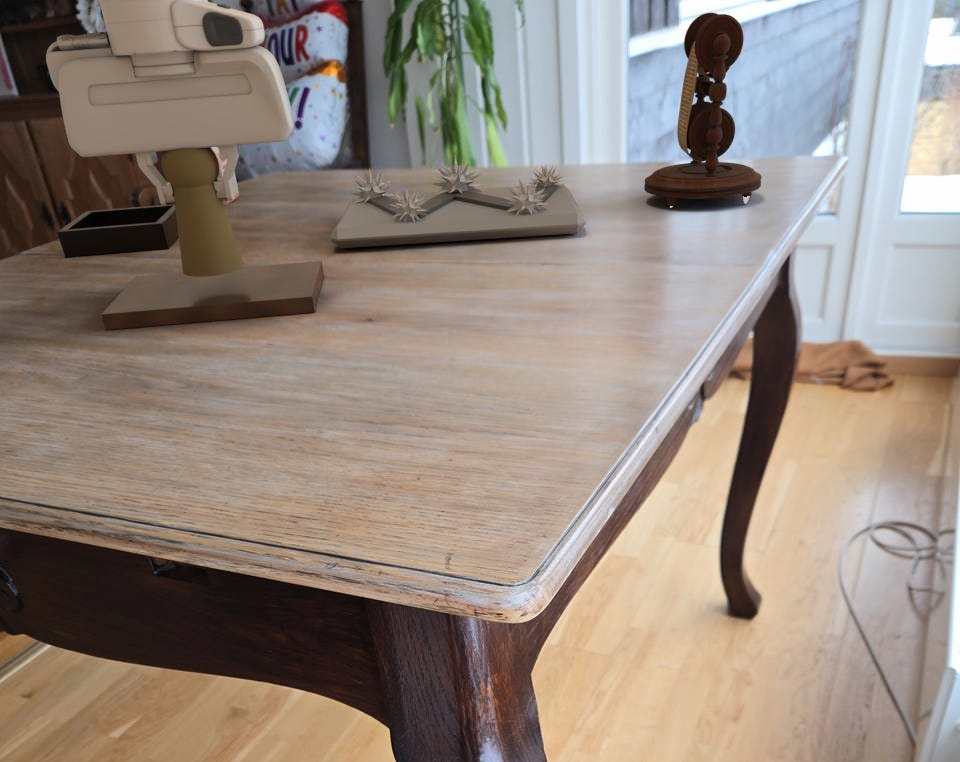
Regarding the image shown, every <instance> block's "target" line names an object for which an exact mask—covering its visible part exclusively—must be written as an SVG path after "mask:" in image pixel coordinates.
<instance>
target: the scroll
mask: <svg viewBox="0 0 960 762" xmlns="http://www.w3.org/2000/svg"><path fill="white" fill-rule="evenodd" d="M744 40H745V39H744V31H743V28H742V25H741V23H740V22H739V21H738V19H737V18H735V17H733V15H730V14H727V13H720V14H719V13H716V12H705V13H702V14H700V15H698V16H697V17H696V18H695V19H694V20H692V21H691V23H690V24H689V26H688V27H687V30H686V33H685V35H684V39H683V50H684V52H685V56H686V58H687V63H686V68H685V71H684V77H683V82H682V89H681V96H680V103H679V111H678V117H677V119H678V120H677V127H676V128H677V131H676V132H677V133H676V135H677V141H678V145H679V147H680V149H681V150H682V151H683V152H684V153H685V154H686V155H687V156H688V157H689V158H690V159H692V160H691V161H690V162H686V163H678V164H672V165H668V166H664V167H661V168H659V169H657V170H655V171H653V172H652V173H651V174H649V175H648V176H647V177H645V178H644V186H643V188H644V189H643V190H644V192H646V193H647V194H649V195H652V196H656V197H663V198H666V205H667V207H668V206H669V207H670V206H674V207H675V206H676V202H677V199H692V200H693V199H718V198H726V197H735V196H741V197H742V196H744V197H747V196H751V197H752V194H753V193H752V192H755V191H757V190H759V189H760V188H761V186H762V178H763V177H762V174H761V173H759V172H757V171H756V170H755V169H754V168H752V167H751V166H748V165H745V164H741V163H735V162H726V161H725V162H724V161H719V158H720V157H722V156H723V155H724V154H726V153H727V151H728V150H729V149H730V148H731V146H732V144H733V142H734V139H735V136H736V124H735V120H734V118H733V116H732V115H731V113H730V112H729V111H728V110H726V109H725V108H722V106H723V105H724V102H723V101H725V100H726V98H727V93H728V87H727V83H726V82H724V80H725V79H726V76H727V73H728V71H729V70H730V68H731V66H733V65H734V64H735V63H736V61H737V60H738V59H739V57H740V55H741V53H742V51H743V46H744ZM711 79H713V80H711ZM694 97H695V98H696V101H695V103H693V102H694ZM706 97H708V99H709V101H705V98H706ZM689 150H690V152H689ZM669 207H668V208H669Z"/></svg>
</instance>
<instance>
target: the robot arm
mask: <svg viewBox="0 0 960 762" xmlns="http://www.w3.org/2000/svg"><path fill="white" fill-rule="evenodd" d="M98 3H99V6H100V9H101V13H102V18H103V21H104V26H105V29H106V31H100V32H89V33H84V34H79V35H73V34H62V35H59V36H57V37H56V41H54V42H52V43H51V44H50V45H49V46H48V48H47V51H46V55H45V62H46V65H47V66H46V67H47V69H48V73H49V77H50V80H51V82H52V84H53V87H54V88H55V89H56V90H57V92H58V94H59V101H60V107H61V114H62V120H63V123H64V129H65V133H66V137H67V140H68V143H69V146H70V147H71V149H73V151H74V152H75V153H77V154H78V155H79V156H80V157H82V158H92V157H105V156H118V155H131V154H135V157H136V162H137V166H138V168H139V169H140V170H141V172H142V173H143V174H144V175H145V176H146V178H147V179H148V180H149V182H150V183H151V184H152V185H153V186H154V187H155V189H156V192H157V196H158V200H159V203H160V204H159V205H161V206H167V205H175V198H174V191H173V186H172V185H171V184H170V183H169V182H168V181H167V180H166V178H164V177H163V175H162V174H161V172H160V171H159V170H158V169H157V167H156V166H155V165H156V163H158V162H159V159H158V154H157V153H158V152H164V151H170V150H178V149H195V148H208V147H218V149H219V153H220V158H221V159H222V160H226V159H227V163H226V167H225V170H224V174H223V177H222V178H217V180H216V181H213V183H214V188H215V190H216V191H217V193H216V197H217V199H218V200H219V201H229V200H234V198H235V193H234V188H233V183H232V177H233V174H234V171H235V170H236V167H237V163H238V160H239V157H240V154H239V150H238V146H244V145H246V146H247V145H257V144H258V145H259V144H269V143H281V142H282V143H283V142H285V141H287V140H288V139H289V138H290V137H291V135H292V133H293V131H294V128H295V123H294V117H293V111H292V107H291V102H290V97H289V94H288V90H287V87H286V83H285V79H284V77H283V73H282V71H281V68H280V65H279V63H278V61H277V58H276V57H275V56H274V55H273V54H272V52H270V50H269V49H267V48H265V47H263V46H261V44H263V42H264V41H265V38H266V37H265V36H266V33H265V26H264V23H263V21H262V19H261V18H260V17H259V16H258V15H256V14H253V13H249V12H246V11H243V10H238V9H235V8H231V6H230V5H227V4H226V3H225V4H224V3H214V2H210V1H209V0H98ZM58 48H59V51H55V50H56V49H58ZM60 50H61V51H60ZM234 201H235V200H234Z"/></svg>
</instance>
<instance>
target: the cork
mask: <svg viewBox="0 0 960 762" xmlns="http://www.w3.org/2000/svg"><path fill="white" fill-rule="evenodd" d="M160 166H161V170H162V173H163V175H164V177H165V180H166V182H169V183H170V184H171V185H172V186H173V191H174V198H175V210H176V218H177V226H178V235H179V237H178V241H179V252H180V258H181V259H180V260H181V266H182V267H181V268H182V273H184V274H185V275H187V276H193V277H207V276H216V275H223V274H227V273H231V272H234V271H237V270H239V269H241V268H243V267H245V263H244V260H243V258H242V254H241V251H240V249H239V248H240V247H239V246H238V242H237V239H236V236H235V233H234V231H233V227H232V224H231V222H230V219H229V216H228V213H227V209H226V207H225V206H226V205H224V203H223V201H219V200H218V199H217V197H216V193H217V191H216V190H215V188H214V183H213V181H216V180H217V178H218V175H219V163H218V159H217V157H216V154H215V153H214V151H213V150H212V149H211V147H208V148H195V149H178V150H170V151H162V154H161V156H160Z"/></svg>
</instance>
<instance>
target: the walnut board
mask: <svg viewBox="0 0 960 762" xmlns="http://www.w3.org/2000/svg"><path fill="white" fill-rule="evenodd" d="M324 276H325V272H324V266H323V261H322V260H316V261H303V262H291V263H279V264H268V265H267V264H266V265H256V266H243V268H241V269H239V270H237V271H234V272H231V273H227V274H223V275H216V276H207V277H193V276H187V275H185V274H184V273H183V272H173V273H161V274H149V275H137V276H135V277H133V278H132V279H131V281H130V282H129V283H128V284H127V285H126V286H125V288H124V289H123V290H122V291H121V292H120V293H119V294H118V295H117V296H116V297H115V299H114V300H113V301H112V302H111V303H110V304H109V305H108V306H107V307H106V308H105V310H104V311H103V312H102V313H101V314H100V316H101V318H102V323H103V325H104V329H105V331H112V330H125V329H136V328H137V327H138V328H149V327H159V326H170V325H171V324H173V325H182V323H184V324H195V323H194V322H196V323H207V322H206V321H208V322H218V321H228V320H229V321H230V320H231V321H232V320H243V319H251V318H252V319H254V318H263V317H264V318H266V317H274V316H275V317H277V316H288V315H289V316H290V315H299V314H300V315H301V314H311V313H316V309H317V304H318V301H319V296H320V293H321V289H322V285H323V280H324ZM192 322H193V323H192Z"/></svg>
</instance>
